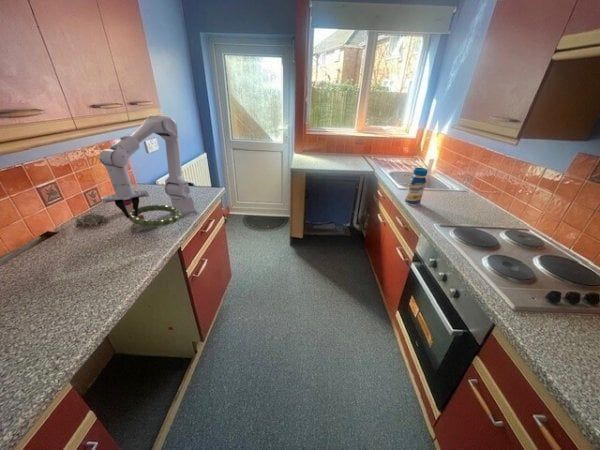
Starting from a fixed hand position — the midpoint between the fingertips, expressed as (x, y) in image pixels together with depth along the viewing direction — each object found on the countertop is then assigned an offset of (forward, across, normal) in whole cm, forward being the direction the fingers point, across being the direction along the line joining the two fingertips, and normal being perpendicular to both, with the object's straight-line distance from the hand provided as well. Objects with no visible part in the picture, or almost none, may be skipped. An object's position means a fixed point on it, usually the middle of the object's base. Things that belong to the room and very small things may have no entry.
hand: (132, 216), depth 97 cm
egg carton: (+10, -17, +24) cm, 31 cm away
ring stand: (+10, +2, +10) cm, 14 cm away
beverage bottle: (+10, +135, -32) cm, 139 cm away
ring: (+1, +8, 0) cm, 8 cm away
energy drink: (+10, -2, +28) cm, 30 cm away
